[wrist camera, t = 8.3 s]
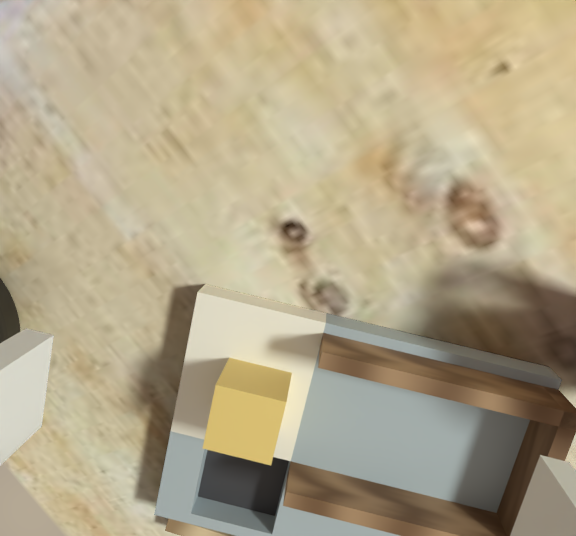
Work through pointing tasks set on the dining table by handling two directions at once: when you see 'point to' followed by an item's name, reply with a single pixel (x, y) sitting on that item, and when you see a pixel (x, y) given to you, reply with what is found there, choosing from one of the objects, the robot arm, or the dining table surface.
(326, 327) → the board
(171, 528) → the crook tool
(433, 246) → the dining table surface
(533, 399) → the cubby
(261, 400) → the block
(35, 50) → the dining table surface
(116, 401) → the dining table surface
